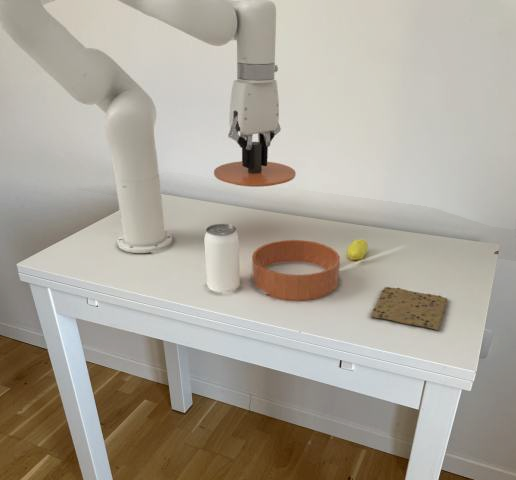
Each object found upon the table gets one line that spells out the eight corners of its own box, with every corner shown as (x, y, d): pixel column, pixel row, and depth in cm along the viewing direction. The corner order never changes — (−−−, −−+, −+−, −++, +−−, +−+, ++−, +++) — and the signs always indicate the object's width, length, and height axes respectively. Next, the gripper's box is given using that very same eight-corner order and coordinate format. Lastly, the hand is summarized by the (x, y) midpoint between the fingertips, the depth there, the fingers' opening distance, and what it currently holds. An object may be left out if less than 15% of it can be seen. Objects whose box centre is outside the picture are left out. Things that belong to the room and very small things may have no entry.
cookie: (439, 331, 93) (440, 326, 92) (370, 317, 97) (370, 312, 96) (447, 300, 102) (448, 295, 101) (384, 288, 106) (384, 284, 105)
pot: (235, 277, 111) (235, 253, 108) (299, 255, 119) (300, 233, 117) (290, 309, 99) (290, 284, 96) (355, 283, 108) (358, 259, 105)
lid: (198, 173, 120) (196, 140, 117) (261, 161, 130) (262, 130, 126) (246, 194, 109) (246, 158, 105) (312, 179, 118) (314, 146, 114)
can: (227, 297, 103) (225, 238, 97) (200, 289, 106) (196, 231, 100) (246, 284, 108) (245, 227, 101) (219, 276, 111) (217, 220, 104)
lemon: (371, 253, 121) (373, 236, 118) (360, 266, 115) (361, 249, 113) (353, 249, 122) (354, 233, 120) (341, 262, 116) (342, 246, 114)
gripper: (275, 68, 115) (273, 157, 125) (211, 73, 106) (214, 168, 116) (298, 72, 110) (294, 164, 120) (233, 77, 101) (234, 176, 111)
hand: (254, 165), depth 118 cm, fingers closed on lid, 3 cm apart
